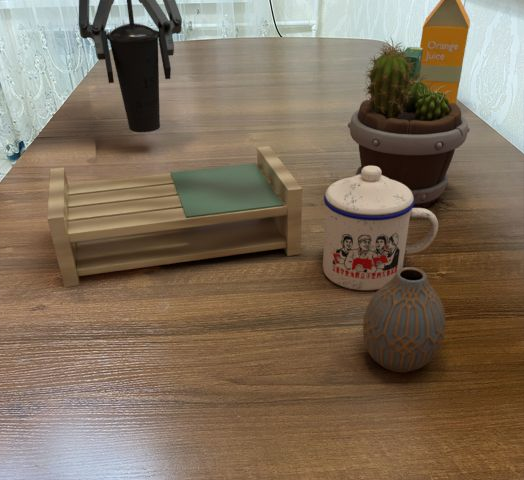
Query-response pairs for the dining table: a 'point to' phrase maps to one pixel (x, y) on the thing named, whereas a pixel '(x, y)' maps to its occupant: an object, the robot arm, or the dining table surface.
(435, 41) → the orange juice
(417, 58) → the coffee box
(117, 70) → the drinking cup
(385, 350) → the vase
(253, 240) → the rack
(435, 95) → the flowerpot
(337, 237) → the teacup with lid
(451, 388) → the dining table surface
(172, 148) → the dining table surface
